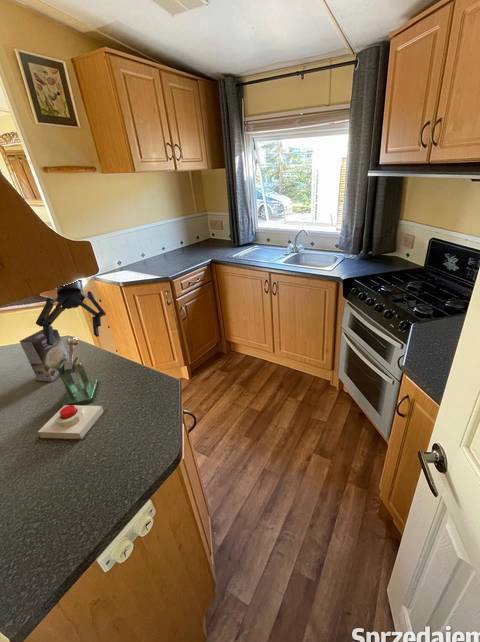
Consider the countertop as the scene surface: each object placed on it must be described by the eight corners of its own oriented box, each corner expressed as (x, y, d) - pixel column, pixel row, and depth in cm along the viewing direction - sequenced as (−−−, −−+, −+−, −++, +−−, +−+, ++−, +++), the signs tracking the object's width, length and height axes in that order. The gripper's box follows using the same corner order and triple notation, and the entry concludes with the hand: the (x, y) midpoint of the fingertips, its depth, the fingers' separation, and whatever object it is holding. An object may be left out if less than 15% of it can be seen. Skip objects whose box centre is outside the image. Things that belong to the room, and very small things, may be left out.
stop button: (58, 419, 80) (56, 414, 79) (68, 409, 83) (65, 405, 82) (70, 419, 80) (68, 414, 79) (79, 410, 83) (77, 405, 82)
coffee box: (52, 382, 101) (33, 342, 94) (37, 380, 102) (18, 341, 95) (73, 366, 109) (57, 329, 102) (59, 365, 110) (42, 328, 104)
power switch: (71, 388, 97) (58, 356, 92) (98, 382, 100) (86, 351, 94) (63, 408, 89) (47, 374, 83) (92, 401, 91) (79, 368, 86)
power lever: (69, 341, 97) (65, 335, 95) (80, 339, 98) (76, 333, 96) (66, 374, 89) (61, 369, 87) (77, 372, 90) (73, 367, 88)
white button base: (40, 437, 79) (34, 427, 77) (66, 410, 88) (62, 400, 86) (81, 439, 78) (76, 428, 76) (103, 411, 87) (99, 401, 85)
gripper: (111, 282, 110) (117, 335, 103) (34, 293, 103) (36, 351, 96) (105, 273, 103) (111, 328, 96) (21, 284, 96) (23, 345, 89)
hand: (73, 340), depth 96 cm, fingers open, 13 cm apart
